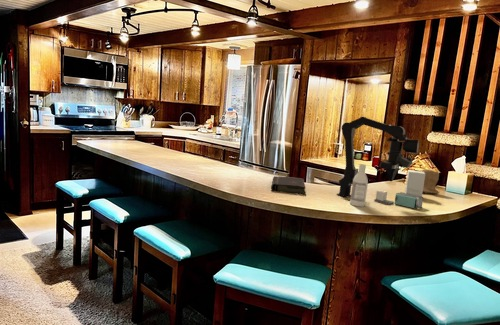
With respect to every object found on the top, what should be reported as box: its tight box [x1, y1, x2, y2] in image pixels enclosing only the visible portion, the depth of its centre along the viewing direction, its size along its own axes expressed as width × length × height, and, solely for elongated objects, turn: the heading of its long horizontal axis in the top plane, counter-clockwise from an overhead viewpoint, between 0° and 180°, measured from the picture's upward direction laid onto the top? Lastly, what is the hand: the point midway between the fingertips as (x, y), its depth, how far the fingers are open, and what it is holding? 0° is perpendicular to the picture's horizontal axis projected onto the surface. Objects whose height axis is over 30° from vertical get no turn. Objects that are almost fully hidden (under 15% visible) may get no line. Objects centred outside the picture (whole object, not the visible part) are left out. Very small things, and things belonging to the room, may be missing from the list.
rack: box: [395, 192, 424, 210], centre depth 195 cm, size 9×12×6 cm
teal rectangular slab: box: [394, 193, 416, 209], centre depth 193 cm, size 10×2×5 cm, turn 46°
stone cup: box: [421, 168, 440, 194], centre depth 242 cm, size 15×12×15 cm
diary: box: [270, 175, 306, 195], centre depth 211 cm, size 19×25×5 cm
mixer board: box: [373, 198, 395, 206], centre depth 198 cm, size 6×8×1 cm
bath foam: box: [349, 163, 369, 208], centre depth 184 cm, size 7×7×20 cm
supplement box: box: [404, 169, 425, 197], centre depth 224 cm, size 9×9×15 cm
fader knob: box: [375, 189, 388, 201], centre depth 199 cm, size 4×4×5 cm
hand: (390, 181), depth 193 cm, fingers closed
